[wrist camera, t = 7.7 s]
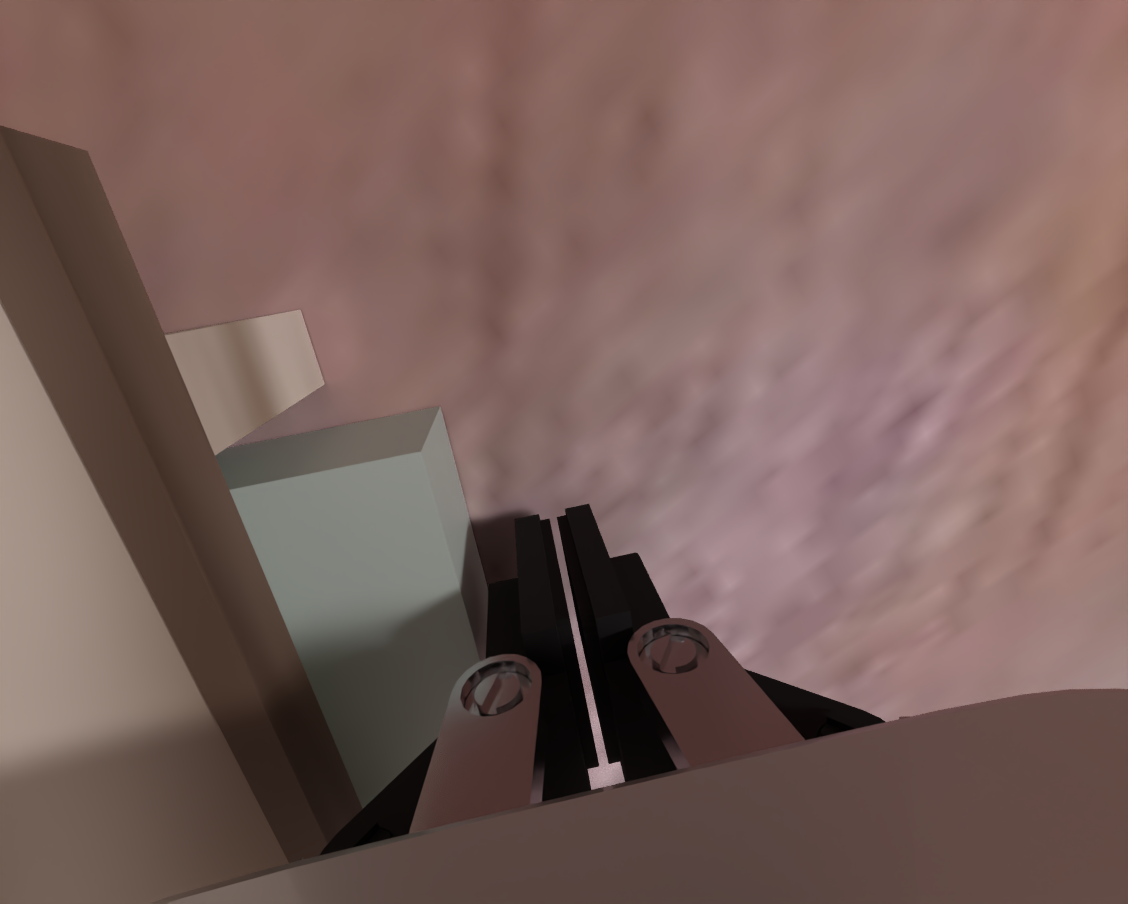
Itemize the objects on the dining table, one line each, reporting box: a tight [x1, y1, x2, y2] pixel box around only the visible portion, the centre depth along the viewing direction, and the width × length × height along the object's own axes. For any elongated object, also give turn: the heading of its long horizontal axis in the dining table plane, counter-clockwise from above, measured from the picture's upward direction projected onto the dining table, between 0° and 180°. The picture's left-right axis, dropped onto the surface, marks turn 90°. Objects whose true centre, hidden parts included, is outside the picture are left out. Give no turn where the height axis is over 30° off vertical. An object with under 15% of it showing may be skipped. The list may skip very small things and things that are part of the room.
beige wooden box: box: [0, 126, 363, 904], centre depth 9 cm, size 12×16×6 cm
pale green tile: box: [215, 406, 488, 808], centre depth 11 cm, size 8×12×3 cm, turn 100°
